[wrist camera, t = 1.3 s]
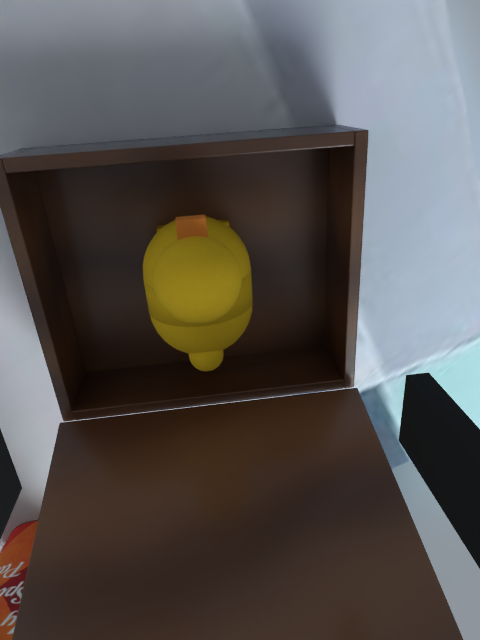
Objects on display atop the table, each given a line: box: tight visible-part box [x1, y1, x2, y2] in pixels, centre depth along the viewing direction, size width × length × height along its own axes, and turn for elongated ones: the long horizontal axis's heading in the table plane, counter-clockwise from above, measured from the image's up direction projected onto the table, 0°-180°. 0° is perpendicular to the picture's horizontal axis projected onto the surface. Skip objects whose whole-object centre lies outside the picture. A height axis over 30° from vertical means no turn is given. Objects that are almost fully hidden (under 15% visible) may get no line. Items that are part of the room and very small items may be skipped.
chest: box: [0, 125, 368, 421], centre depth 28 cm, size 15×18×5 cm
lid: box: [12, 388, 463, 640], centre depth 24 cm, size 16×18×5 cm
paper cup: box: [0, 521, 38, 640], centre depth 33 cm, size 8×8×14 cm
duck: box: [143, 215, 253, 371], centre depth 25 cm, size 9×6×10 cm, turn 4°
